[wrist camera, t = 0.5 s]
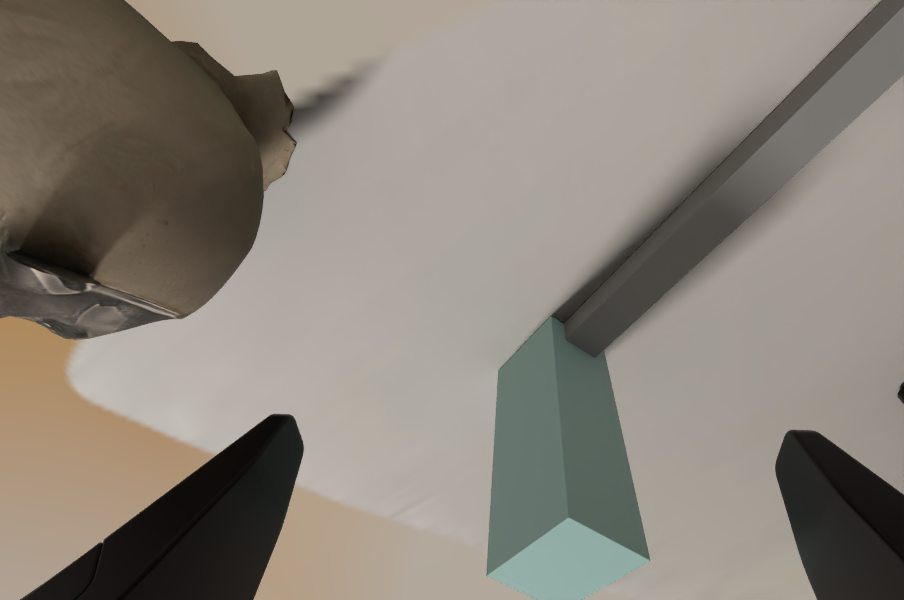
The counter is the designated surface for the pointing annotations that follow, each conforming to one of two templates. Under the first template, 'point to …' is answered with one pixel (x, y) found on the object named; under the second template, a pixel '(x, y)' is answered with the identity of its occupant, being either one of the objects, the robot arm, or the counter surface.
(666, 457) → the counter surface
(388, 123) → the counter surface
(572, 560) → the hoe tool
